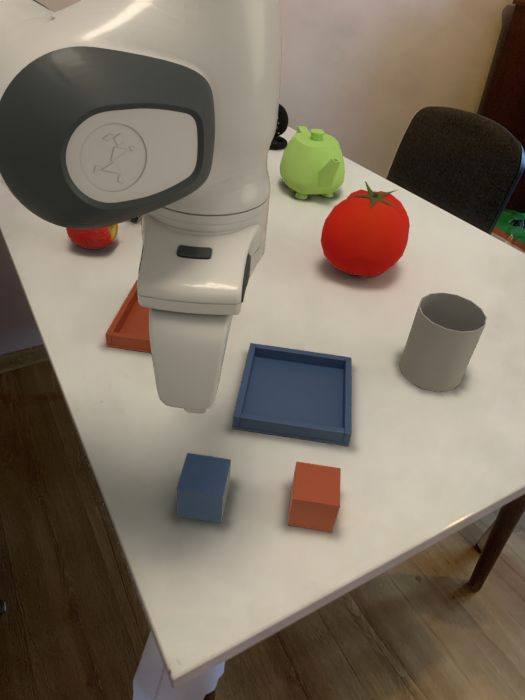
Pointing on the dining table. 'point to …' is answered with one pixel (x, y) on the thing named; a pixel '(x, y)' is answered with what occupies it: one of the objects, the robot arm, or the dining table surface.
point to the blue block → (203, 487)
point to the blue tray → (296, 394)
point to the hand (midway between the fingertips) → (203, 368)
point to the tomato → (366, 233)
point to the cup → (441, 341)
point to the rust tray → (130, 325)
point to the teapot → (312, 163)
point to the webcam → (280, 129)
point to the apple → (93, 237)
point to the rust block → (314, 496)
